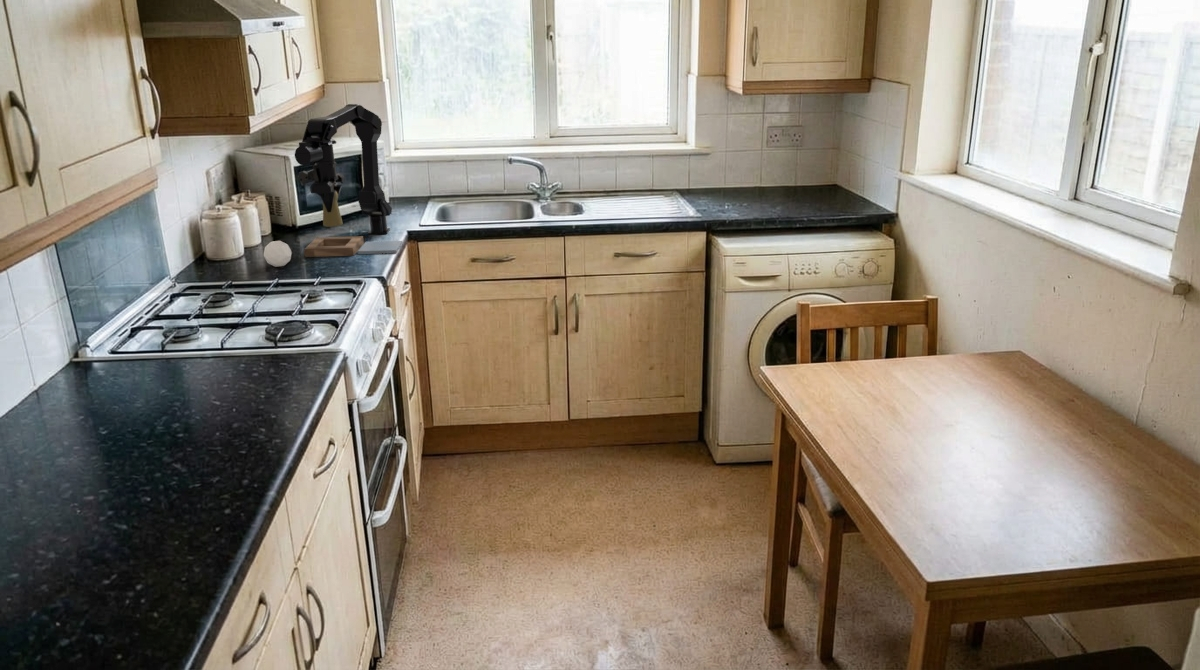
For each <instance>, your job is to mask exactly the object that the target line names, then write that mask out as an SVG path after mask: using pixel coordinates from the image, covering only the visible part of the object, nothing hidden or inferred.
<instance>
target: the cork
mask: <svg viewBox="0 0 1200 670" xmlns="http://www.w3.org/2000/svg"><path fill="white" fill-rule="evenodd" d="M337 198H338V199H339V197H338V193H337V192H335V197H334V201H333V206H332V210H331V212H327V210H326V207H325V205H324V203H323V202H322V226H323V227H327V228H328V227H329V228H333V227H339V226H342V225H343V224H344V223H343V219H342V215H341V211H340V208H339V203H338V200H337ZM320 199H321V200H322V198H321V197H320Z"/></svg>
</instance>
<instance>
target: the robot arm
mask: <svg viewBox="0 0 1200 670" xmlns="http://www.w3.org/2000/svg"><path fill="white" fill-rule="evenodd" d="M348 123H350V124H351V125H352V126H354V129H355V134H356V136H357V137H358V139H359V141H360V142H361V143H360V144H361V156H362V157H361V158H362V171H363V173H362V176H363V187H362V189H361V190H358V194H357V195H358V204H359V208H360V211H361V212H362V215H363V216H368V220H369V229H370V230H369V231H368V232H367V234H368V235H387V234H388V233H389V232H390V231H391V228H389V227H388V223H387V220H388V219H387V217H388V216H391V215H392V212H393V208H392V206H391V205H390V203H389V202H388V201H387V200H386V194H385V192H384V191H383V189H382V187H381V186H380V178H379V175H380V174H379V160H378V159H379V158H378V157H379V155H378V140H379V139H380V136H381V134H382V125H383V124H382V123H383V122H382V119H381V118H380V117H379V115H377V114H376V113H374V112H373V111H371V110H368V109H367V108H365V107H364V106H363V105H361V104H359V103H349V104H346V105H345V106H344V107H342V108H340V109H338V110H336V111H334V112H332V113H330V114H328V115H326V116H319V117H313V118H310V119H308V121H307V124H306V127H305V131H304V134H303V137H302V140H301V141H300V142H298V146H297V147H296V149H295V151H294V158H295V160H296V162H297V163H298V164H299V165H300V166H303V167H305V166H309V165H312V164H314V165H313V166H312V168H313V169H310V170H308V171H306V170H303V171H300V172H298V175H297V182H299V183H300V184H301V186H305V185H307V184H309V183H311V182H313V183H311V185H310V186H309V190H310V194H316V195H318V196H319V197H320V199H321V198H322V199H321V200H322V204H323V203H324V205H325V207H326V210H327V212H331V210H332V206H333V201H334V197H335V192H337V193H338V198H337V201H338V199H339V196H340V193H341V191H342V187H343V184H344V183H345V182H346V180H345V175H344V174H342V173H341V172H340V173H339V172H338V173H337V170H336V167H337V166H338V163H337V162H336V161H335V154H334V153H335V152H334V146H333V145H336V144H337V141H336V140H335V139H334V138H333V137H334V136H335V135H336V134H337V133H338V129H339V128H341V127H342V126H345V125H346V124H348ZM338 183H341V184H338Z"/></svg>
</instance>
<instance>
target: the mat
mask: <svg viewBox="0 0 1200 670" xmlns="http://www.w3.org/2000/svg"><path fill="white" fill-rule="evenodd" d="M403 245H404V242H403V240H382V241H380V240H379V241H376V240H375V241H364V244H363V245H362V246H361V248H360V249H359V250H358V251H357V255H377V254H378V255H379V254H380V255H383V254H384V255H385V253H387V254H397V253H398V252H399V250H400V249H401V247H402V246H403ZM382 253H383V254H382Z"/></svg>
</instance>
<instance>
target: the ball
mask: <svg viewBox="0 0 1200 670" xmlns="http://www.w3.org/2000/svg"><path fill="white" fill-rule="evenodd" d="M263 258H264V259H265V261H266V262H267V264H269V265H271V266H273V267H275V268H277V267H278V268H279V267H284V266H286V265H287V264H288V263H289V262H290V261H291V259H292V250H291V247H290V246H289V244H287V243H285V242H283V241H281V240H275V241H270V242H269V243H268V244H266V246H264V251H263Z"/></svg>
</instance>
